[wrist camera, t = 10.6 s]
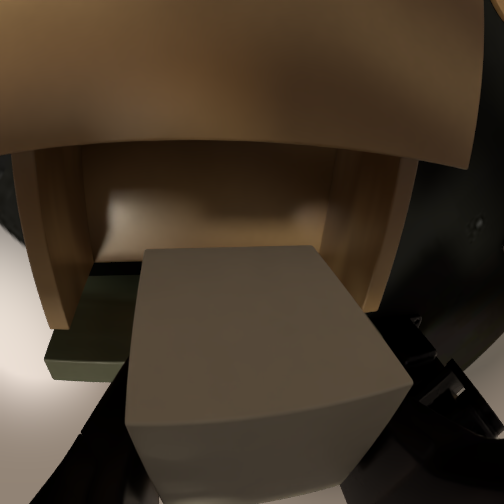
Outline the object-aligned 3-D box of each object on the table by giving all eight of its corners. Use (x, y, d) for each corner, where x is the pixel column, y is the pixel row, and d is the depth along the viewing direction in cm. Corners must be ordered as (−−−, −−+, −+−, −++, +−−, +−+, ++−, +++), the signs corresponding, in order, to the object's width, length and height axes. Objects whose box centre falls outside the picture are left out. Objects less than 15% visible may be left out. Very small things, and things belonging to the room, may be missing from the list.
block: (289, 359, 10) (341, 485, 6) (159, 369, 9) (167, 511, 5) (312, 244, 8) (416, 382, 4) (144, 248, 7) (124, 424, 3)
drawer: (311, 347, 20) (345, 418, 15) (98, 360, 17) (87, 441, 12) (365, 52, 12) (453, 48, 7) (60, 37, 9) (-9, 15, 4)
